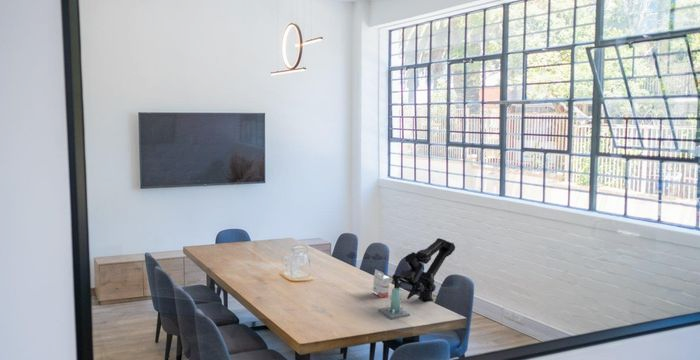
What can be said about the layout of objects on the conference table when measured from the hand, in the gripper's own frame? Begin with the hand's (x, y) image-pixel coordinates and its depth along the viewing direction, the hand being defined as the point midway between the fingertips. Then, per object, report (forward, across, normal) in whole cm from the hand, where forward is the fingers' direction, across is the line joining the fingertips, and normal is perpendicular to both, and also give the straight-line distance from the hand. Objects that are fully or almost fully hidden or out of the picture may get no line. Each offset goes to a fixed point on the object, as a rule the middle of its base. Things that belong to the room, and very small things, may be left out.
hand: (400, 296), depth 335 cm
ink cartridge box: (0, -21, +13) cm, 24 cm away
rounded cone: (+8, 0, +2) cm, 9 cm away
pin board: (+9, 0, +3) cm, 10 cm away
